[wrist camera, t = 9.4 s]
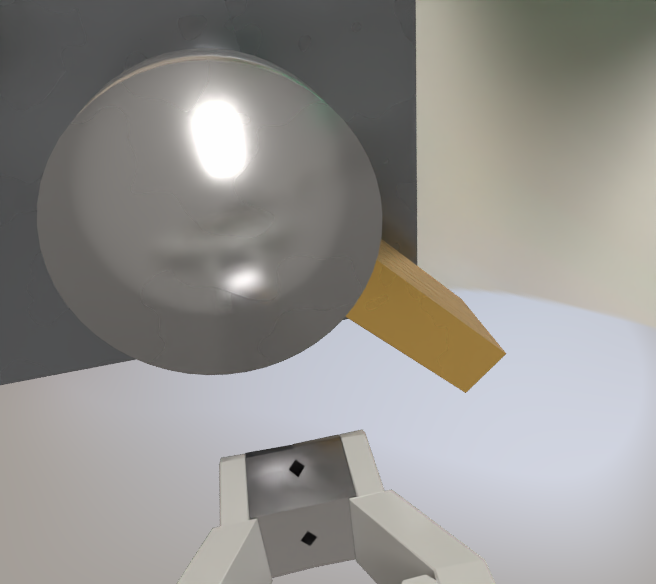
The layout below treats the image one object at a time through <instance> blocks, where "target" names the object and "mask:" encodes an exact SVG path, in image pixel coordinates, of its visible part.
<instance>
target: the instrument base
mask: <svg viewBox="0 0 656 584" xmlns="http://www.w3.org/2000/svg"><path fill="white" fill-rule="evenodd" d="M201 48H213V49H223V50H233V51H237V52H241V53H245V54H249V55H253V56H256V57H259V58H261V59H264V60H266V61H269V62H271V63H274V64H276V65H278V66H279V67H281V68H283V69H285V70H287V71H288V72H290V73H292V74H293V75H295V76H296V77H298V78H299V79H300V80H302V81H303V82H304V83H306V84H307V85H308V86H309V87H311V88H312V89H313V90H314V91H315V92H316V93H317V94H318V95H319V96H320V97H321V98H322V99H323V100H324V101H325V102H326V103H327V104H328V105H329V106H330V107H331V108H332V109H333V110H334V111H335V112H336V113H337V114H338V115H339V116H340V117H341V118H342V119H343V120H344V121H345V122H346V124H347V125H348V126H349V128H350V129H351V130H352V132H353V133H354V134H355V135H356V137H357V138H358V140H359V142H360V143H361V145H362V147H363V149H364V150H365V152H366V154H367V156H368V158H369V160H370V163H371V165H372V168H373V170H374V173H375V176H376V179H377V183H378V188H379V192H380V196H381V206H382V236H381V239H382V240H384V241H385V242H386V243H388V244H389V245H390V246H392V247H393V248H394V249H396V250H397V251H398V252H400V253H401V254H402V255H403V256H405V257H406V258H407V259H409V260H410V261H411V262H413V263H414V264H415V265H417V160H416V2H415V0H0V385H4V384H8V383H14V382H19V381H24V380H30V379H35V378H40V377H46V376H51V375H56V374H61V373H67V372H72V371H77V370H82V369H88V368H93V367H98V366H103V365H108V364H114V363H119V362H124V361H130V360H135V358H132V357H130V356H128V355H127V354H125V353H123V352H121V351H119V350H117V349H116V348H114V347H112V346H111V345H109V344H108V343H107V342H105V341H104V340H102V339H101V338H99V337H98V336H97V335H95V334H94V333H93V332H92V331H91V330H90V329H89V328H88V327H87V326H85V325H84V324H83V323H82V322H81V321H80V320H79V319H78V317H77V316H76V315H75V314H74V313H73V312H72V310H71V309H70V308H69V307H68V306H67V304H66V303H65V301H64V300H63V298H62V297H61V295H60V294H59V292H58V291H57V289H56V287H55V285H54V283H53V281H52V279H51V277H50V275H49V273H48V270H47V268H46V265H45V262H44V258H43V255H42V252H41V249H40V243H39V236H38V230H37V201H38V195H39V189H40V183H41V179H42V176H43V173H44V170H45V167H46V164H47V161H48V159H49V157H50V155H51V153H52V151H53V149H54V147H55V145H56V144H57V142H58V140H59V138H60V137H61V135H62V134H63V133H64V131H65V130H66V129H67V127H68V126H69V125H70V123H71V122H72V121H73V119H74V118H75V117H76V116H77V115H78V113H79V112H80V111H81V110H82V109H83V108H84V106H85V105H86V104H87V103H88V102H89V101H90V99H91V98H92V97H93V96H94V95H95V94H96V93H97V92H98V91H99V90H100V89H101V88H102V87H104V86H105V85H106V84H107V83H108V82H109V81H111V80H112V79H113V78H115V77H116V76H118V75H119V74H120V73H122V72H123V71H124V70H126V69H128V68H130V67H132V66H134V65H136V64H138V63H140V62H142V61H144V60H147V59H150V58H152V57H155V56H158V55H161V54H164V53H169V52H174V51H180V50H185V49H201ZM345 319H349V318H347V317H345V318H344V319H343V320H345Z"/></svg>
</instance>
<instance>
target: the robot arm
mask: <svg viewBox="0 0 656 584" xmlns="http://www.w3.org/2000/svg"><path fill="white" fill-rule="evenodd" d="M219 481H220V482H219V487H220V526H219V527H215V528H212V530H211V531H210V533H209V534H208V536H207V537H206V539H205V541H204V542H203V544H202V545H201V547H200V548H199V550H198V551H197V553H196V554H195V556H194V558H193V559H192V561H191V562H190V564H189V565H188V567H187V568H186V570H185V572H184V573H183V575H182V576H181V578H180V579H179V581H178V582H177V584H271V583H272V578H274V577H278V576H282V575H286V574H290V573H294V572H297V571H302V570H306V569H310V568H313V567H319V566H324V565H328V564H334V563H339V562H344V561H349V560H354V559H356V561H357V563H358V564H359V565H360V566H361V567H362V568H363V569H364V570H365V571H366V572H367V573H368V574H369V575H370V577H371V578H372V579H373V580H374V581H375V582H376V583H377V584H496V583H495V581H494V579H493V577H492V574H491V572H490V570H489V568H488V566H487V564H486V561H485V559H483V558H482V557H480V556H479V555H478V554H476V553H475V552H474V551H473V550H471V549H470V548H468V547H467V546H466V545H465V544H463V543H462V542H461V541H459V540H458V539H457V538H455V537H454V536H453V535H451V534H450V533H448V532H447V531H446V530H444V529H443V528H442V527H441V526H439V525H438V524H437V523H435V522H434V521H433V520H431V519H430V518H429V517H427V516H426V515H425V514H423V513H422V512H420V511H419V510H418V509H417V508H415V507H414V506H413V505H411V504H410V503H409V502H407V501H406V500H405V499H403V498H402V497H401V496H399V495H398V494H397V493H396V492H394V491H393V490H387V491H384V488H383V485H382V482H381V479H380V476H379V473H378V470H377V467H376V464H375V461H374V458H373V455H372V452H371V449H370V446H369V443H368V440H367V437H366V434H365V432H364V431H363V430H358V431H354V432H348V433H344V434H340V435H334V436H329V437H324V438H320V439H315V440H310V441H306V442H301V443H296V444H293V445H288V446H283V447H277V448H271V449H266V450H260V451H254V452H249V453H246V454H240V455H234V456H228V457H223V458H221V459H220V464H219ZM313 564H314V565H313Z"/></svg>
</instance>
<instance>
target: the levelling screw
mask: <svg viewBox="0 0 656 584" xmlns="http://www.w3.org/2000/svg"><path fill="white" fill-rule="evenodd" d="M37 230H38V236H39V243H40V249H41V252H42V255H43V258H44V262H45V265H46V268H47V270H48V273H49V275H50V277H51V279H52V281H53V283H54V285H55V287H56V289H57V291H58V292H59V294H60V295H61V297H62V298H63V300H64V301H65V303H66V304H67V306H68V307H69V308H70V309H71V310H72V312H73V313H74V314H75V315H76V316H77V317H78V319H79V320H80V321H81V322H82V323H83V324H84V325H85V326H87V327H88V328H89V329H90V330H91V331H92V332H93V333H94V334H95V335H97V336H98V337H99V338H101V339H102V340H104V341H105V342H107V343H108V344H109V345H111V346H112V347H114V348H116V349H117V350H119V351H121V352H123V353H125V354H127V355H128V356H130V357H132V358H135V359H137V360H140V361H142V362H145V363H147V364H150V365H153V366H156V367H160V368H164V369H167V370H171V371H177V372H182V373H188V374H202V375H219V374H220V375H223V374H233V373H240V372H247V371H252V370H256V369H260V368H264V367H267V366H270V365H273V364H276V363H279V362H281V361H284V360H286V359H288V358H290V357H292V356H294V355H296V354H299V353H301V352H302V351H304V350H305V349H307V348H309V347H310V346H312V345H313V344H315V343H317V342H318V341H319V340H320V339H322V338H323V337H324V336H325V335H327V334H328V333H329V332H331V330H332V329H334V328H335V327H336V326H337V325H338V324H339V323H340V322H341V321H342V320H343V319H344V318H345V317H347V318H349V319H350V320H352V321H353V322H355V323H357V324H358V325H360V326H361V327H363V328H364V329H366V330H368V331H369V332H371V333H372V334H374V335H375V336H377V337H379V338H380V339H382V340H383V341H385V342H386V343H388V344H390V345H391V346H393V347H394V348H396V349H397V350H399V351H401V352H402V353H404V354H406V355H407V356H408V357H410V358H412V359H413V360H415V361H416V362H418V363H420V364H421V365H423V366H424V367H426V368H427V369H429V370H431V371H432V372H434V373H435V374H437V375H438V376H440V377H442V378H443V379H445V380H446V381H448V382H449V383H451V384H453V385H454V386H456V387H457V388H459V389H460V390H462V391H464V392H465V393H466V392H467V391H468V390H469V389H470V388H471V387H472V386H473V385H474V384H475V383H477V382H478V380H480V378H482V376H484V375H485V374H486V373H487V372H488V371H489V370H490V369H491V368H492V367H493V366H494V365H495V364H496V363H497V362H498V361H499V360H500V359H501V358H502V357H503V356H504V355H505V354H506V353H505V352H504V350H503V349H502V348H501V347H500V345H499V344H498V343H497V342H496V341H495V339H494V338H493V337H492V336H491V335H490V333H489V332H488V331H487V330H486V328H485V327H484V326H483V325H482V324H481V322H480V321H479V320H478V319H477V317H476V316H475V315H474V314H473V313H472V311H471V310H470V309H469V308H468V306H467V305H466V304H465V303H464V302H463V300H462V299H461V298H459V297H458V296H457V295H455V294H454V293H453V292H451V291H450V290H449V289H447V288H446V287H445V286H443V285H442V284H441V283H439V282H438V281H437V280H435V279H434V278H433V277H431V276H430V275H429V274H427V273H426V272H425V271H423V270H422V269H421V268H419V267H418V266H417V265H415V264H414V263H413V262H411V261H410V260H409V259H407V258H406V257H405V256H403V255H402V254H401V253H400V252H398V251H397V250H396V249H394V248H393V247H392V246H390V245H389V244H388V243H386V242H385V241H384V240H382V239H381V236H382V206H381V196H380V192H379V188H378V183H377V179H376V176H375V173H374V170H373V168H372V165H371V163H370V160H369V158H368V156H367V154H366V152H365V150H364V149H363V147H362V145H361V143H360V142H359V140H358V138H357V137H356V135H355V134H354V133H353V132H352V130H351V129H350V128H349V126H348V125H347V124H346V122H345V121H344V120H343V119H342V118H341V117H340V116H339V115H338V114H337V113H336V112H335V111H334V110H333V109H332V108H331V107H330V106H329V105H328V104H327V103H326V102H325V101H324V100H323V99H322V98H321V97H320V96H319V95H318V94H317V93H316V92H315V91H314V90H313V89H312V88H311V87H309V86H308V85H307V84H306V83H304V82H303V81H302V80H300V79H299V78H298V77H296V76H295V75H293V74H292V73H290V72H288V71H287V70H285V69H283V68H281V67H279V66H278V65H276V64H274V63H271V62H269V61H266V60H264V59H261V58H259V57H256V56H253V55H249V54H245V53H241V52H237V51H233V50H223V49H213V48H201V49H185V50H180V51H174V52H169V53H164V54H161V55H158V56H155V57H152V58H150V59H147V60H144V61H142V62H140V63H138V64H136V65H134V66H132V67H130V68H128V69H126V70H124V71H123V72H122V73H120V74H119V75H118V76H116V77H115V78H113V79H112V80H111V81H109V82H108V83H107V84H106V85H105V86H104V87H102V88H101V89H100V90H99V91H98V92H97V93H96V94H95V95H94V96H93V97H92V98H91V99H90V101H89V102H88V103H87V104H86V105H85V106H84V108H83V109H82V110H81V111H80V112H79V113H78V115H77V116H76V117H75V118H74V119H73V121H72V122H71V123H70V125H69V126H68V127H67V129H66V130H65V131H64V133H63V134H62V135H61V137H60V138H59V140H58V142H57V144H56V145H55V147H54V149H53V151H52V153H51V155H50V157H49V159H48V161H47V164H46V167H45V170H44V173H43V176H42V179H41V183H40V189H39V195H38V201H37Z"/></svg>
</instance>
